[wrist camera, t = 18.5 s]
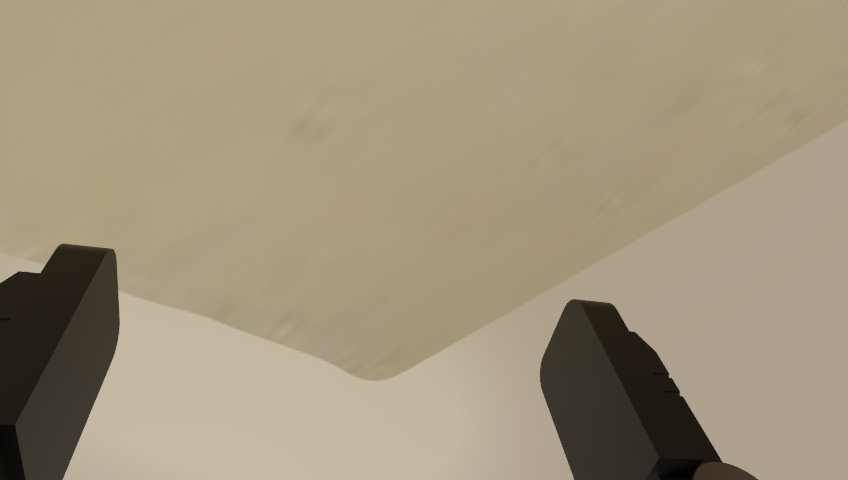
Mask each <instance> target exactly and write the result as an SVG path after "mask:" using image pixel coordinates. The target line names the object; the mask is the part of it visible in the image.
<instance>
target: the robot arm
mask: <svg viewBox="0 0 848 480" xmlns="http://www.w3.org/2000/svg"><path fill="white" fill-rule="evenodd" d="M118 302H119V301H118V281H117V262H116V254H115V252H114V250H113V249H108V248H99V247H90V246H80V245H71V244H61V245H59V246H58V247H57V249H56V250H55V252H54V253H53V255H52V256H51V258H50V259H49V261H48V262H47V264H46V265H45V267H44V269H43V270H42V272H41V273H30V272H17V273H16V274H14V275H13V276H11V277H9V278H8V279H6V280H5V281H3V282H2V283H0V480H63V477H64V475H65V472H66V470H67V467H68V465H69V463H70V460H71V458H72V455H73V453H74V451H75V448H76V446H77V443H78V441H79V438H80V436H81V434H82V431H83V429H84V427H85V424H86V422H87V419H88V417H89V414H90V412H91V409H92V407H93V405H94V402H95V400H96V398H97V395H98V393H99V390H100V388H101V386H102V383H103V381H104V378H105V376H106V373H107V371H108V369H109V366H110V364H111V361H112V359H113V356H114V353H115V349H116V345H117V341H118V334H119V323H120V322H119V303H118ZM540 382H541V388H542V391H543V394H544V397H545V399H546V402H547V405H548V408H549V411H550V413H551V416H552V419H553V422H554V424H555V427H556V430H557V433H558V435H559V438H560V441H561V444H562V447H563V449H564V452H565V455H566V457H567V460H568V463H569V466H570V468H571V471H572V474H573V477H574V480H758V479H757V478H755V477H754V476H752V475H751V474H749V473H748V472H746V471H744V470H742V469H740V468H738V467H736V466H733V465H730V464H727V463H723V462H722V461H721V460H720V457H719V456H718V454H717V452H716V451H715V449H714V447H713V446H712V444H711V442H710V441H709V439H708V437H707V436H706V434H705V432H704V431H703V429H702V427H701V426H700V424H699V423H698V421H697V419H696V418H695V416H694V414H693V413H692V411H691V409H690V408H689V406H688V404H687V403H686V401H685V399H684V398H683V397H682V396H680V391H679V389H678V388H677V386H676V385H675V383H674V381H673V379H672V378H669V373H668V371H667V370H666V368H665V366H664V365H663V363H662V361H661V360H660V358H659V356H658V355H657V353H656V352H655V351H654V350H653V349H652V348H651V347H650V346H649V345H648V344H647V343H646V342H645V341H643V339H642V338H641V337H639V336H638V335H637V334H636V333H635V332H630V331H629V330H628V328H627V327H626V325H625V323H624V321H623V320H622V318H621V316H620V314H619V313H618V311H617V309H616V308H615V307H614V306H613V305H612V304H611V303H604V302H595V301H585V300H575V299H574V300H571V301H569V302H568V303H567V305H566V306H565V308H564V310H563V312H562V315H561V317H560V320H559V322H558V324H557V326H556V328H555V331H554V333H553V335H552V337H551V340H550V342H549V344H548V347H547V349H546V351H545V353H544V356H543V359H542V362H541V368H540Z"/></svg>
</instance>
